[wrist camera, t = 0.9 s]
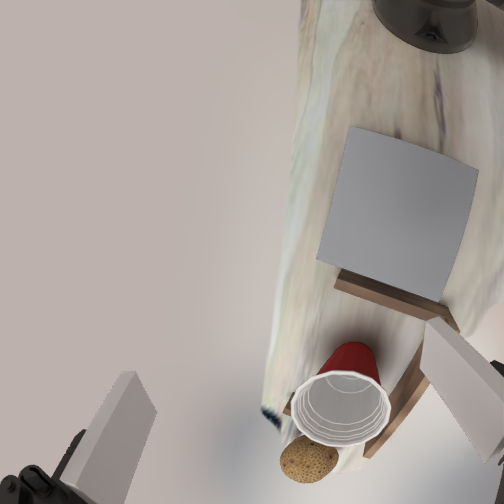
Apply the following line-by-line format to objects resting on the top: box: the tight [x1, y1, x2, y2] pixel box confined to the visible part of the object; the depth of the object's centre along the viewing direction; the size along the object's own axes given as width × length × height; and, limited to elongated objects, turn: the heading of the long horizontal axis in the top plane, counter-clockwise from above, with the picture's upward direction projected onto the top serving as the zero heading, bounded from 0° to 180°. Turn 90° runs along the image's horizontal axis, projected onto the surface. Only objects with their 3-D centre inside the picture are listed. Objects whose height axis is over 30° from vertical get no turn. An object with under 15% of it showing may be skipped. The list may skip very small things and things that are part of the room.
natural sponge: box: [280, 435, 339, 483], centre depth 35 cm, size 9×9×10 cm
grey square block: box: [316, 126, 479, 302], centre depth 27 cm, size 14×14×6 cm
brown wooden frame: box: [283, 269, 460, 459], centre depth 31 cm, size 22×15×7 cm
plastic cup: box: [291, 342, 391, 447], centre depth 29 cm, size 11×11×12 cm
